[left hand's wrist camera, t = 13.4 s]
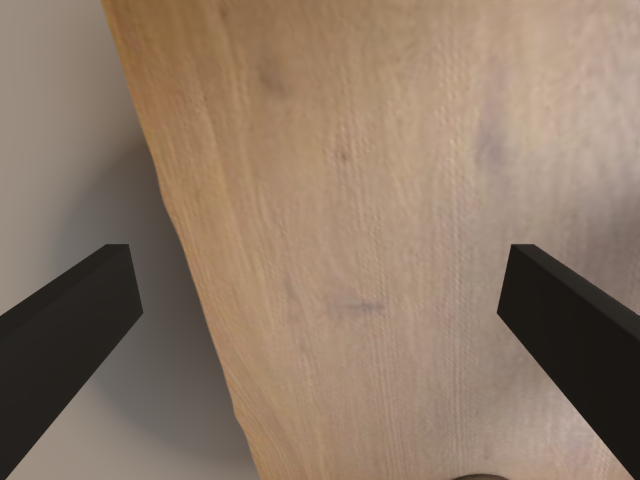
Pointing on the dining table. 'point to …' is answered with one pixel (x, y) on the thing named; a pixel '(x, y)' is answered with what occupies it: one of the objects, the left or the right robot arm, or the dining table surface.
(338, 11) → the dining table surface
